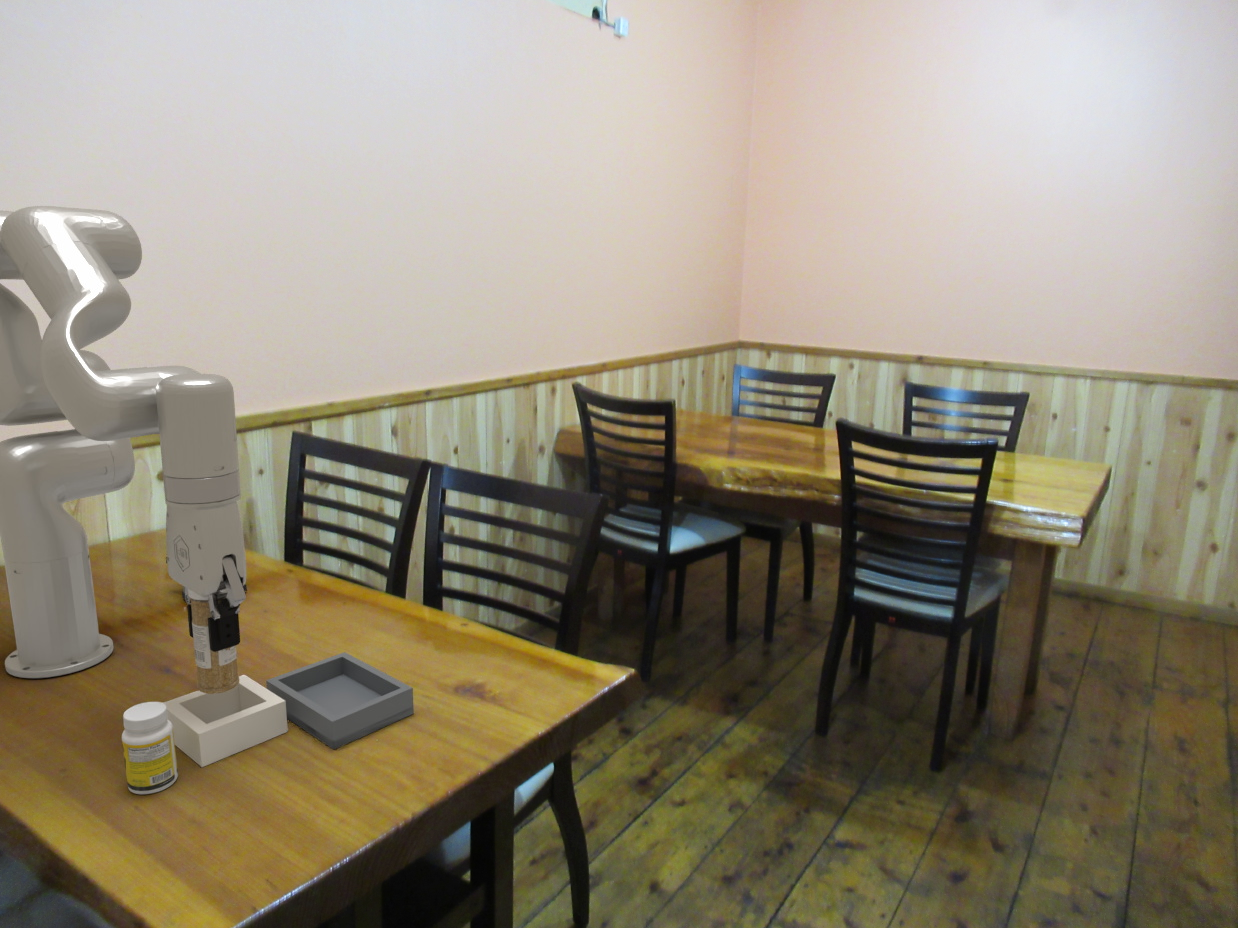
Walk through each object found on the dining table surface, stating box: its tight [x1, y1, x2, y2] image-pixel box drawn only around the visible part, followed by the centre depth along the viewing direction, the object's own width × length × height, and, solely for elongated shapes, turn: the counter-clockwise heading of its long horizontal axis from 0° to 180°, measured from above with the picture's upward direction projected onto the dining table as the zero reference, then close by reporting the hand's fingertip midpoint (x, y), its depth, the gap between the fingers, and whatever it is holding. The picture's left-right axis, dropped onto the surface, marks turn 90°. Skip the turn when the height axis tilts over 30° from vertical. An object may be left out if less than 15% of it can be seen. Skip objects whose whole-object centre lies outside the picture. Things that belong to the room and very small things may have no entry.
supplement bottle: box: [121, 701, 179, 795], centre depth 89 cm, size 5×5×8 cm
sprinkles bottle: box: [188, 583, 240, 694], centre depth 97 cm, size 5×5×13 cm
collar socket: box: [163, 674, 289, 768], centre depth 99 cm, size 10×10×4 cm
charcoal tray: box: [265, 651, 415, 750], centre depth 105 cm, size 15×11×4 cm
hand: (214, 639), depth 97 cm, fingers closed on sprinkles bottle, 4 cm apart
